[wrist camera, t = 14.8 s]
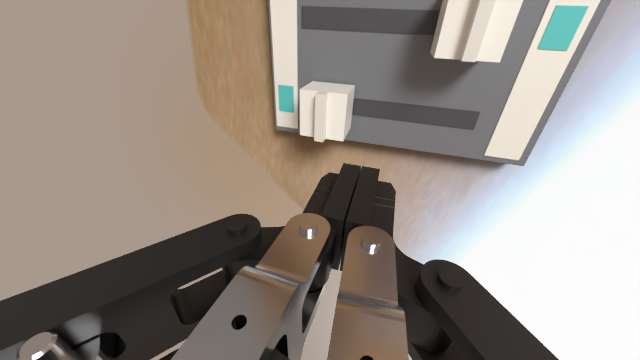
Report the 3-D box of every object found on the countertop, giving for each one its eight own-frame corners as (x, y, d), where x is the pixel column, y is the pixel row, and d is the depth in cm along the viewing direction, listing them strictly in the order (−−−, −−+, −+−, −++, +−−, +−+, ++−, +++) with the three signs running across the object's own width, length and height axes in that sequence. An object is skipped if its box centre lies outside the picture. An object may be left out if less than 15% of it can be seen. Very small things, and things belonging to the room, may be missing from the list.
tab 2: (444, -10, 18) (454, -19, 14) (508, -9, 17) (535, -18, 14) (429, 52, 20) (435, 59, 17) (485, 56, 19) (503, 64, 16)
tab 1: (312, 81, 24) (296, 91, 20) (355, 85, 23) (345, 96, 19) (311, 122, 26) (296, 138, 22) (350, 127, 25) (341, 145, 22)
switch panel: (276, -32, 22) (265, -37, 20) (609, -32, 17) (632, -38, 15) (283, 123, 30) (275, 130, 28) (515, 156, 24) (524, 166, 23)
